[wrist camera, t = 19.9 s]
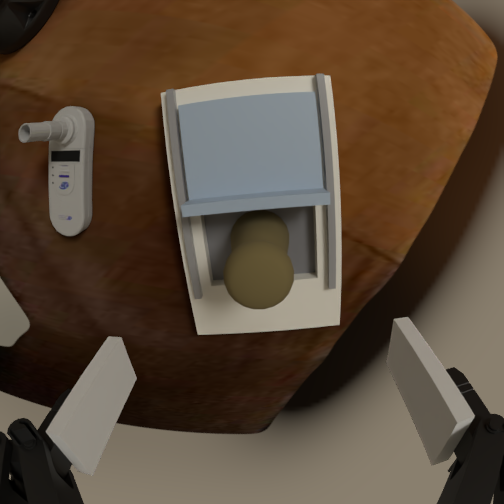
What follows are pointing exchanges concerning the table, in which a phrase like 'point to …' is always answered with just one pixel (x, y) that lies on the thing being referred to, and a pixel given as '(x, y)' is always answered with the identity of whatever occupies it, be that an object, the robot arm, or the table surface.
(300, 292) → the socket plate
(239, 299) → the cork
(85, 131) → the electronic device
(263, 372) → the table surface
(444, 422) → the robot arm
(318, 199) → the panel
